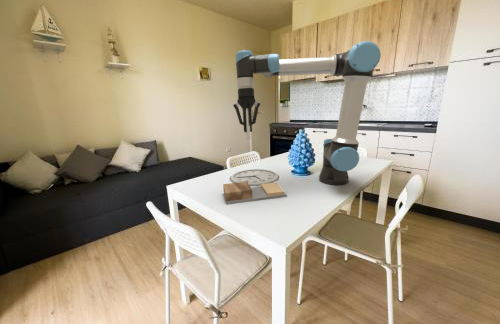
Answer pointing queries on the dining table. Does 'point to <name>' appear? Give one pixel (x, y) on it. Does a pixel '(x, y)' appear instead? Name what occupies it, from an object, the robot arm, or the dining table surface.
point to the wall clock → (255, 177)
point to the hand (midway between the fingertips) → (248, 138)
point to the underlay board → (263, 193)
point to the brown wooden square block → (237, 191)
